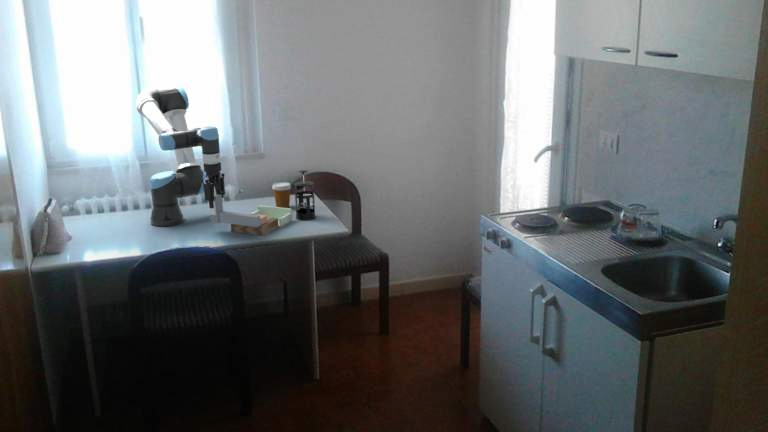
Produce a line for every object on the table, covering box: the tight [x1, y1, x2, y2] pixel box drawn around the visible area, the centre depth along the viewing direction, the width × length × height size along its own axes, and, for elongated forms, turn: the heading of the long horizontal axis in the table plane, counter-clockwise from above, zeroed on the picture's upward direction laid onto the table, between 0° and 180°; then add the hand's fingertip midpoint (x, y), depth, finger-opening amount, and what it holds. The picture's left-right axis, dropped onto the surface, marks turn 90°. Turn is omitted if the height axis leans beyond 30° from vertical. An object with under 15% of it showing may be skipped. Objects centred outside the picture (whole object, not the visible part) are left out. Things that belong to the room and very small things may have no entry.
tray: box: [250, 204, 293, 228], centre depth 335 cm, size 18×10×6 cm, turn 67°
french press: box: [293, 169, 317, 222], centre depth 338 cm, size 12×9×23 cm
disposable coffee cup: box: [271, 181, 292, 208], centre depth 357 cm, size 10×10×12 cm
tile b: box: [257, 214, 267, 225], centre depth 321 cm, size 5×5×3 cm
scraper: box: [210, 193, 261, 227], centre depth 317 cm, size 24×4×12 cm, turn 66°
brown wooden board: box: [230, 217, 280, 236], centre depth 325 cm, size 17×13×4 cm
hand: (216, 213), depth 322 cm, fingers closed on scraper, 4 cm apart
